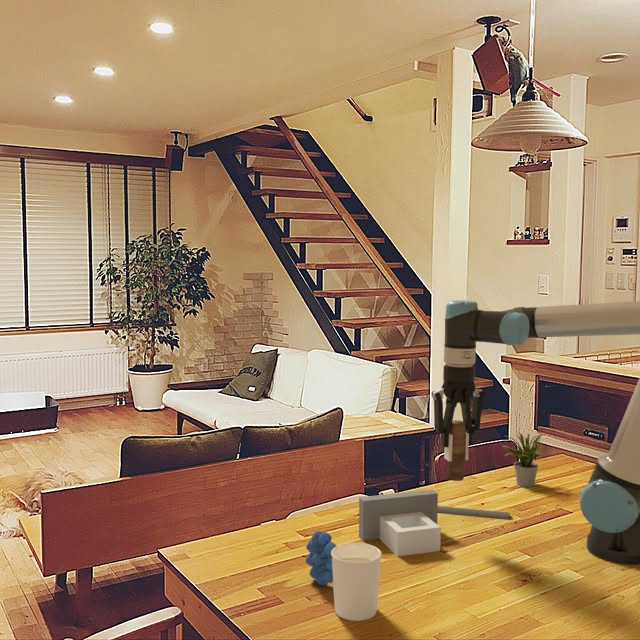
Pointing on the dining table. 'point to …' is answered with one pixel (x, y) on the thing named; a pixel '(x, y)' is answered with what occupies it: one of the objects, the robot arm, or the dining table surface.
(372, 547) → the candle holder
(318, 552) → the grapes
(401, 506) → the wall
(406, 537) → the white square open box
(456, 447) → the dowel
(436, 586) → the dining table surface
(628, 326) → the robot arm
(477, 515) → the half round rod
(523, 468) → the house plant
